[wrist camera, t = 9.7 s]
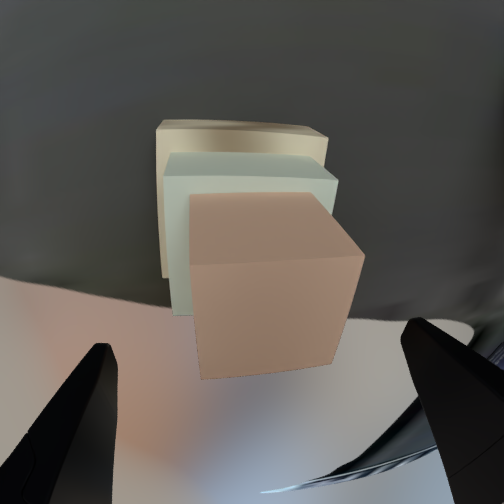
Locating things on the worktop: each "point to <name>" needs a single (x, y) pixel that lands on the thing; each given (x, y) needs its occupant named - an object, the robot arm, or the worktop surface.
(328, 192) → the tower top
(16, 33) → the worktop surface
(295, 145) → the tower base
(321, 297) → the terracotta cube
